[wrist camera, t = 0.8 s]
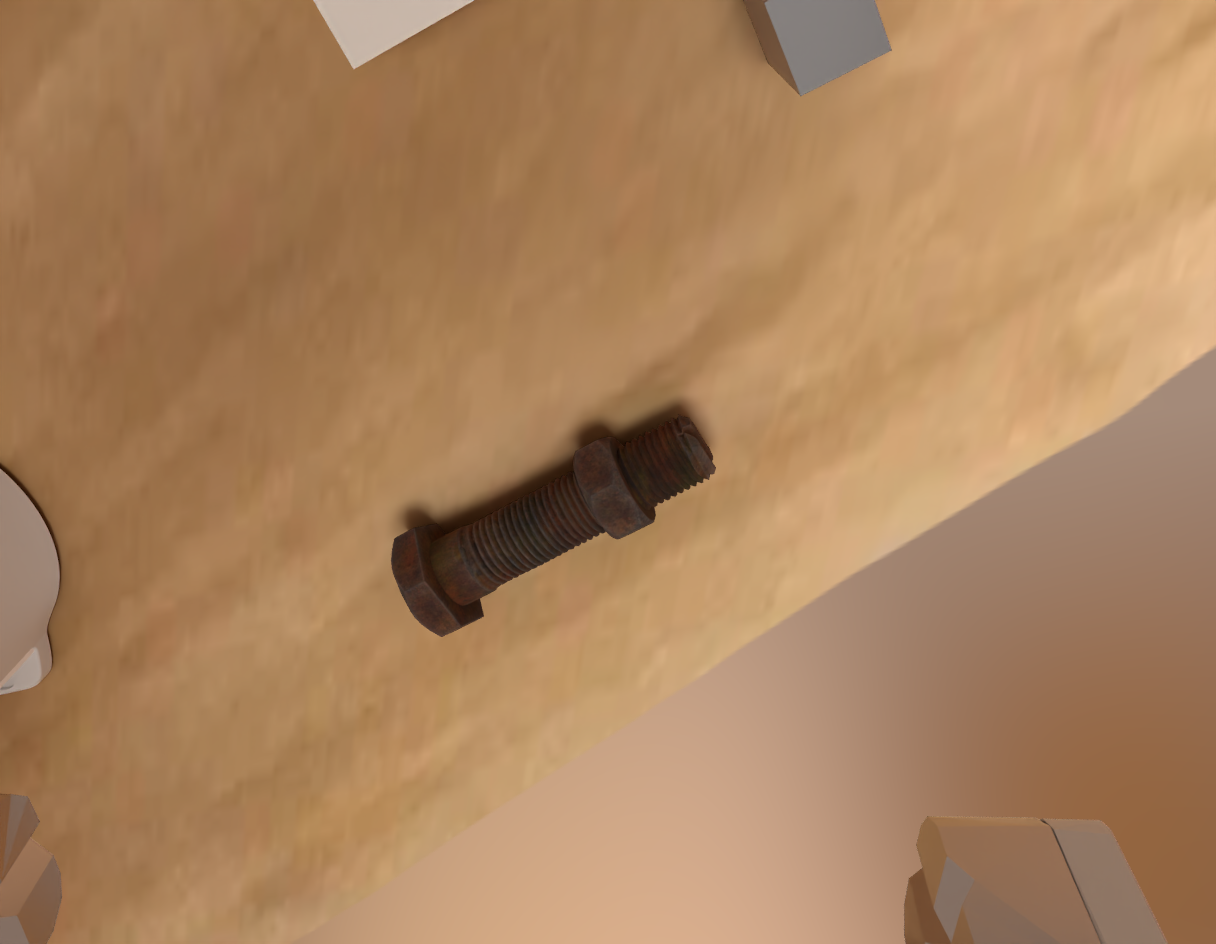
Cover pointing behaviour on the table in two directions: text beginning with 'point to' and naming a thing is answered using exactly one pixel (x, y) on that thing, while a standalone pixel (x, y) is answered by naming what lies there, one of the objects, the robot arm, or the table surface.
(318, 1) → the white socket block
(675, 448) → the bolt
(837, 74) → the plug
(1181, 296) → the table surface
